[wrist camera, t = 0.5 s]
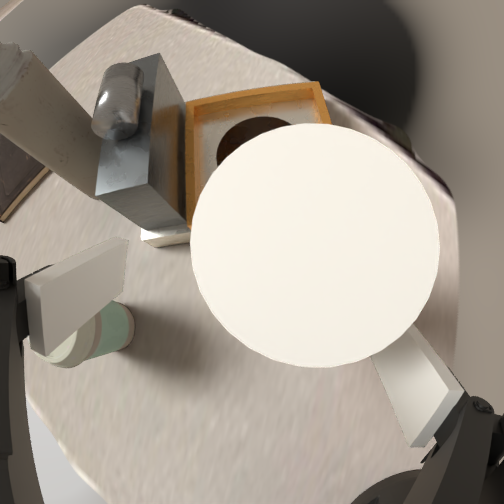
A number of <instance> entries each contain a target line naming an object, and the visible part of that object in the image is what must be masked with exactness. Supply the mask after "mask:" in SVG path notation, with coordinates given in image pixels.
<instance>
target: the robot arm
mask: <svg viewBox="0 0 504 504" xmlns="http://www.w3.org/2000/svg"><path fill="white" fill-rule="evenodd" d="M128 241H129V240H126V239H122V238H119V237H113V238H111V239H109V240H106V241H104V242H102V243H100V244H97V245H95V246H93V247H91V248H89V249H86V250H84V251H82V252H80V253H78V254H76V255H73V256H71V257H69V258H67V259H65V260H63V261H61V262H59V263H57V264H53V265H48V266H46V267H44V268H42V269H39V271H38V270H37V271H35V272H33V274H32V273H31V274H29V275H27V276H25V277H23V278H21V279H19V280H17V279H16V261H15V260H14V259H13V258H11V257H8V256H2V255H0V504H44V501H43V497H42V494H41V490H40V486H39V482H38V477H37V473H36V468H35V463H34V458H33V453H32V447H31V440H30V434H29V426H28V419H27V408H26V396H25V380H24V346H23V340H24V339H25V338H26V337H28V336H29V339H30V346H31V349H32V350H34V351H35V352H37V353H39V354H41V355H43V356H44V357H47V356H48V355H49V354H50V353H51V352H53V351H54V350H55V349H56V348H57V347H58V346H59V345H60V344H62V343H63V342H64V341H65V340H66V339H67V338H68V337H70V336H71V335H72V334H73V333H74V332H75V331H77V330H78V329H79V328H80V327H81V326H82V325H84V324H85V323H86V322H87V321H88V320H89V319H91V318H92V317H93V316H94V315H95V314H96V313H98V312H99V311H100V310H101V309H102V308H104V307H105V306H106V305H107V304H108V303H110V302H111V301H112V300H113V299H114V298H116V297H117V296H118V295H119V294H121V293H122V292H123V285H124V275H125V266H126V257H127V249H128ZM371 359H372V361H373V363H374V365H375V368H376V370H377V372H378V374H379V377H380V379H381V381H382V383H383V386H384V388H385V390H386V393H387V395H388V397H389V400H390V402H391V405H392V407H393V409H394V412H395V414H396V417H397V419H398V421H399V424H400V426H401V429H402V431H403V434H404V436H405V439H406V442H407V444H408V447H425V446H426V445H427V443H428V442H429V441H430V440H431V438H432V437H433V436H434V437H435V439H436V441H437V443H436V444H435V445H434V447H433V448H432V449H431V450H430V451H429V453H428V454H427V455H426V456H425V457H424V459H423V460H422V461H421V462H420V463H422V464H423V463H424V462H425V463H424V465H423V467H422V469H421V470H414V471H408V472H403V473H400V474H396V475H394V476H391V477H389V478H386V479H384V480H382V481H380V482H378V483H376V484H375V485H373V486H371V487H370V488H368V489H367V490H366V491H364V492H363V493H362V494H361V495H359V496H358V497H357V498H356V499H355V500H354V501H353V502H352V503H351V504H504V460H503V461H502V462H501V464H500V465H499V461H500V460H501V458H502V457H503V456H504V414H503V416H500V415H496V414H494V409H493V408H492V406H491V405H490V404H489V403H488V402H487V401H485V400H484V399H482V398H479V397H476V396H472V397H470V396H469V395H468V393H467V392H466V391H465V389H464V388H463V387H462V385H461V384H460V382H458V380H457V378H456V377H455V376H454V374H453V373H452V371H451V370H450V369H449V367H447V366H446V365H445V364H444V362H443V361H442V360H441V358H440V357H439V356H438V354H437V353H436V352H435V351H434V349H433V348H432V347H431V345H430V344H429V343H428V342H427V340H426V339H425V338H424V336H423V335H422V334H421V333H420V331H419V330H418V329H417V328H416V326H415V325H414V324H413V323H412V324H411V326H410V327H409V328H408V329H407V330H406V331H405V332H404V333H403V334H402V335H401V336H400V337H399V338H398V339H396V340H395V341H394V342H392V343H391V344H390V345H388V346H387V347H386V348H384V349H383V350H381V351H379V352H377V353H375V354H373V355H371Z"/></svg>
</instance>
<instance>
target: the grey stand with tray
mask: <svg viewBox="0 0 504 504" xmlns="http://www.w3.org/2000/svg"><path fill="white" fill-rule="evenodd" d="M303 123H311V124H330V125H332V123H331V119H330V116H329V113H328V109H327V106H326V103H325V100H324V97H323V94H322V90H321V87H320V84H319V82H315V81H314V82H302V83H292V84H283V85H275V86H268V87H261V88H254V89H247V90H241V91H236V92H230V93H225V94H219V95H214V96H209V97H205V98H200V99H195V100H191V101H187V102H184V100H183V98H182V96H181V94H180V92H179V90H178V88H177V86H176V84H175V82H174V80H173V78H172V76H171V74H170V72H169V70H168V68H167V66H166V64H165V62H164V60H163V58H162V56H161V54H160V53H157V54H154V55H151V56H148V57H145V58H141V59H138V60H136V61H133V62H130V63H117V64H114V65H112V66H110V67H109V68H108V69H107V70H106V71H105V73H104V75H103V79H102V82H101V86H100V90H99V93H98V97H97V101H96V106H95V110H94V114H93V119H92V123H91V128H92V130H93V132H94V133H95V134H96V135H98V136H99V137H101V138H103V139H102V145H101V152H100V159H99V166H98V174H97V183H96V193H95V196H96V197H97V198H99V199H100V200H102V201H103V202H105V203H106V204H107V205H109V206H110V207H112V208H113V209H115V210H116V211H118V212H119V213H120V214H122V215H123V216H125V217H126V218H128V219H129V220H131V221H132V222H134V223H135V224H137V225H138V226H140V227H141V228H142V241H144V242H146V243H148V244H149V245H151V246H153V247H154V248H156V247H163V246H170V245H176V244H183V243H190V238H191V229H192V219H193V215H194V212H195V209H196V206H197V203H198V200H199V197H200V194H201V193H202V191H203V189H204V187H205V185H206V184H207V182H208V180H209V178H210V177H211V175H212V174H213V172H214V171H215V170H216V169H217V168H218V167H219V165H220V164H221V163H222V162H223V161H224V160H225V159H226V157H228V156H229V155H230V154H231V153H233V152H234V151H235V150H236V149H237V148H239V147H240V146H241V145H242V144H244V143H246V142H248V141H249V140H251V139H253V138H255V137H257V136H258V135H260V134H263V133H266V132H268V131H271V130H274V129H277V128H280V127H284V126H290V125H297V124H303Z"/></svg>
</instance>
